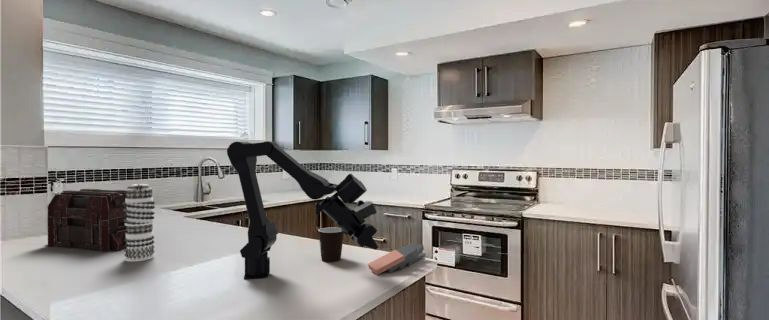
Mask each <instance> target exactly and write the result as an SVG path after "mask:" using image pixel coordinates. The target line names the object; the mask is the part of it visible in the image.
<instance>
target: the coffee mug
mask: <svg viewBox="0 0 769 320" xmlns="http://www.w3.org/2000/svg"><path fill="white" fill-rule="evenodd" d="M317 231H318V232H317V233H318V241H319V249H320V258H321V259H320V260H321V261H322V262H325V263H336V262H340V261H341V260H342V251H343V244H344V234H345V233H344V232H342V231H341V227H333V226H331V227H321V228H318V230H317Z"/></svg>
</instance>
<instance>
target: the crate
mask: <svg viewBox="0 0 769 320" xmlns="http://www.w3.org/2000/svg"><path fill="white" fill-rule="evenodd" d="M125 198H126V190H124V189H115V190H114V189H98V188H80V189H79V190H71V189H70V190H69V189H68V190H62V192H60V193H58V194H55V195H54V196H53V197H52V198H51V200H50V201H49V203H48V204H47V248H53V247H54V248H63V249H81V250H83V251H84V250H86V251H96V252H101V253H108V252H111V251H112V252H113V251H114V252H120V251H123V250H125V248H127V247H126V246H125V243H127V242H125V241H124V240H125V239H126V226H125V222H124V219H126V217H125V216H124V213H125V212H124V211H123V209H124V208H125V206H124V205H123V203H124V202H125Z"/></svg>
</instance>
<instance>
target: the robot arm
mask: <svg viewBox="0 0 769 320" xmlns="http://www.w3.org/2000/svg"><path fill="white" fill-rule="evenodd" d="M226 154H227V157H228V160H229V162H230V164H231V166H232V168H233V169H234V170H235V172H237V175H238V178H239V182H240V186H241V192H242V194H243V198H244V203H245V208H246V211H247V217H248V220H249V221H248V222H249V224H248V230H247V243H246V244H245V245H244V246H243V247H242V248H241V249H240V250H239V253H240V256H241V258H243V259H244V276H243V279H244V280H246V279H247V280H249V279H259V278H260V279H261V278H268V277H269V274H270V272H271V259H270V258H271V257H270V256H268V252H269V251H271V248H272V246H273V245H274V244H275V243H276V241H277V238H278V237H277V235H278V234H279V232H278V231H277V228H276V222H275V220H273V221H270V219H268V217H267V216H266V211H265V206H264V201H263V199H262V194H261V190H260V185H259V182H258V177H257V173H256V166H257V162H258V158H257V157H262V156H263V157H264V156H266V157H268V158H269V159H270V160H271V161H272V162H274V163H275V164H276V165H277V166H278V167H279V168H281V169H282V170H283V171H284V172H286V173H287V175H289V176H290V177H291V178H293V179H294V180H295V181H296V182H297V183H298V185H299V187H300V189H301V190H302V191H303V192H304V194H305V195H306V196H307V197H308V198H309V199H311V200H314V201H315V200H321V199H322V198H324V199H323V200H321V201H320V202H315V205H314V207H315V215H316V216H318V215H320V213H321V212H322V211H323V213H325V214H326V215H327V216H328V217H329V218H331V220H332V221H333V222H334V223H335V224H336V225H337V226H338V227H339V228H341V231H342V232H344V234H345V236H348V237H349V236H350V237H351V238H350V239H351V240H352V241H354V243H356V244H357V245H358V246H360V248H364V247H367V248H370V249H372V250H375V251H377V250H378V249H379V246H378V244H377V243H376V241H375V240H374V238H373V237H374V235H375V234H376V233H377V232H378V229H377V228H376V227H374V225H372V224H370V222H369V223H365V222H366V220H365V219H367V218H369V217H370V216H373V215H376V214H377V212H378V211H377V209H376V207H375V205H374V203H373V202H372V201H371V200H370V201H368V200H366V201H365V202H364V200H362V199H359V198H361V197H362V196H363V195H364V194H365V193H366V192H367V188H366V186H365V185H364V184H363V183H364V182H362V181H361V180H359V179H358V178H357V177H356V176H354V175H353V174H352V173H349V174H348V175H346V176H345V178H344V179H343V180H342V181H341V182H339V183H338V184H336V183H331V182H330V181H329V180H328V179H326V178H325V177H323V176H321V175H319V174H317V173H314V172H313V171H310V170H309V169H307V168H305V167H304V166H303V165H302V164H301V163H300V162H298V161H297V160H296V159H295V158H293V157H292V156H291V155H290V154H289V153H288V152H286V151H285V150H284V149H283V148H281V146H279V145H278V143H277V142H275V141H270V140H269V141H268V140H266V141H262V142H254V143H253V142H252V143H251V142H248V141H233V142H231V143H230V144H229V146H228V147H227V149H226ZM333 193H334V194H333ZM331 194H332V195H331ZM328 195H331V196H328ZM358 199H359V200H358ZM357 200H358V201H357ZM355 202H356V206H355V208H351V207H349V205H347V204H348V203H349V204H351V205H352V204H354V203H355Z"/></svg>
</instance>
